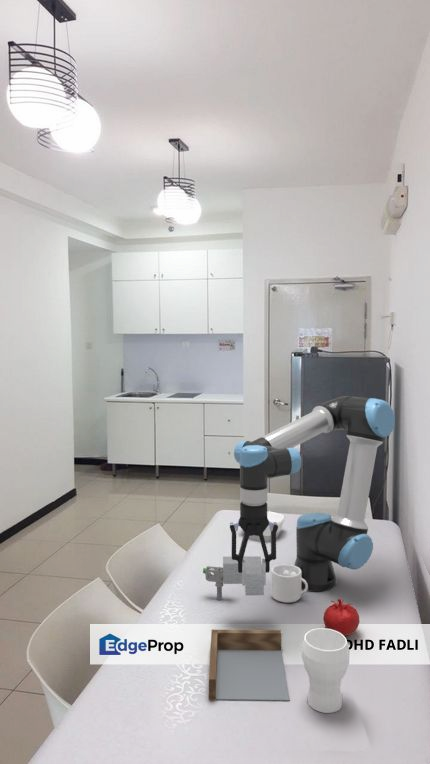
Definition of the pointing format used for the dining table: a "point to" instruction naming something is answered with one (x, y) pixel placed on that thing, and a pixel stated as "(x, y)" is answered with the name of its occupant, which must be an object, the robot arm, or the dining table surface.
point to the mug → (287, 583)
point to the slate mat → (251, 675)
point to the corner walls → (239, 647)
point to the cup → (325, 667)
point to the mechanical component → (215, 578)
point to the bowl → (267, 533)
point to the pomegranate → (341, 618)
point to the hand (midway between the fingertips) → (253, 583)
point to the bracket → (252, 574)
